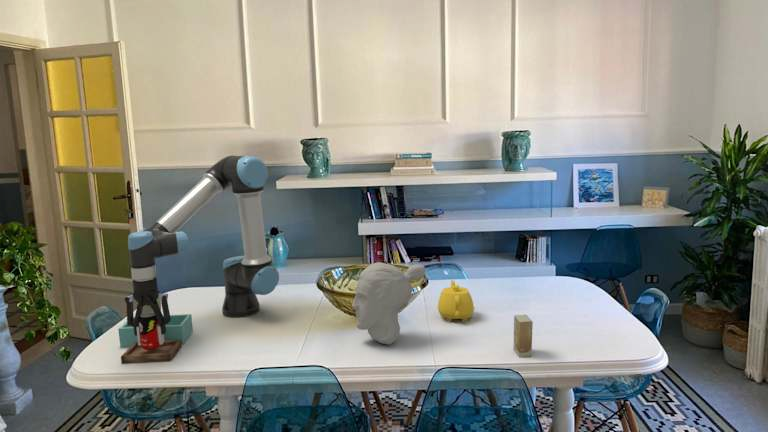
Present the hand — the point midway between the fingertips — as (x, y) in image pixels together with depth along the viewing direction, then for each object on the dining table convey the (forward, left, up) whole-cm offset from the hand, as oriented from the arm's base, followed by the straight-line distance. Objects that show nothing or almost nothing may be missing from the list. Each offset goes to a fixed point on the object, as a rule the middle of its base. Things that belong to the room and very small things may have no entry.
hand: (151, 343), depth 191 cm
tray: (0, 0, -4) cm, 4 cm away
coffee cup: (+10, -28, -4) cm, 30 cm away
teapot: (-108, -23, -4) cm, 111 cm away
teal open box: (+3, -14, -4) cm, 15 cm away
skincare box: (-124, +14, -4) cm, 125 cm away
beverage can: (0, 0, -2) cm, 2 cm away
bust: (-82, -3, -4) cm, 82 cm away
